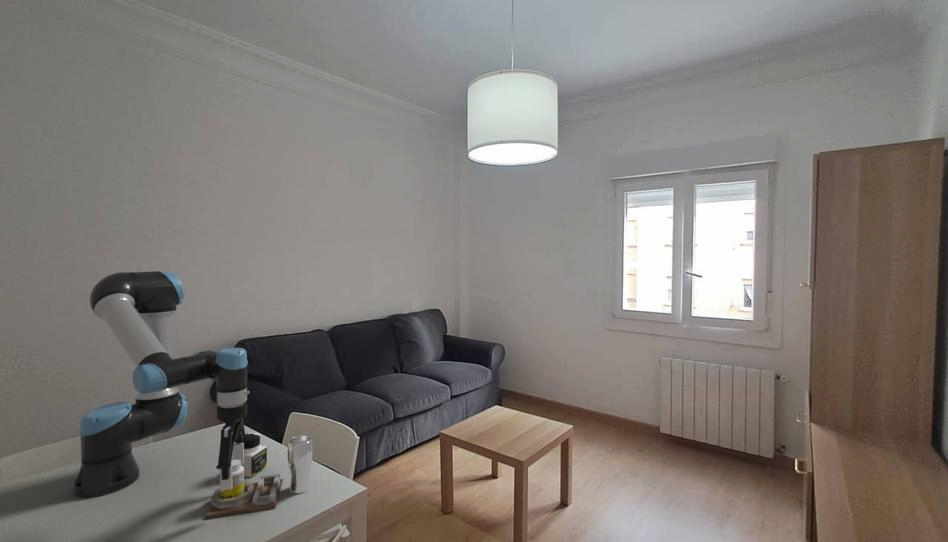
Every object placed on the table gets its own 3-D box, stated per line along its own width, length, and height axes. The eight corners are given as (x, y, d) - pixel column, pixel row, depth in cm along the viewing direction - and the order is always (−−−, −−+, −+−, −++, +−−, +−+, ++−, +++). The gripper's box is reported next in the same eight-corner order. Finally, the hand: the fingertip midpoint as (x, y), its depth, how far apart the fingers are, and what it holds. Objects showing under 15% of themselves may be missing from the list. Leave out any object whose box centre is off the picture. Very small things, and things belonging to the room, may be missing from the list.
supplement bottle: (218, 499, 119) (217, 463, 118) (237, 490, 123) (237, 456, 123) (228, 505, 116) (228, 469, 115) (248, 495, 120) (248, 461, 120)
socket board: (220, 490, 125) (220, 480, 125) (282, 481, 130) (282, 472, 130) (205, 518, 111) (205, 508, 111) (275, 508, 116) (275, 497, 116)
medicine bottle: (251, 478, 132) (251, 440, 131) (232, 475, 133) (231, 438, 133) (267, 467, 139) (267, 431, 138) (248, 464, 140) (248, 429, 140)
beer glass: (283, 488, 126) (283, 439, 126) (306, 479, 131) (306, 432, 131) (293, 497, 121) (293, 447, 121) (316, 488, 127) (316, 439, 126)
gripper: (236, 419, 108) (236, 499, 109) (255, 388, 131) (256, 454, 132) (202, 422, 105) (203, 503, 106) (229, 390, 129) (229, 457, 130)
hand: (232, 476), depth 119 cm, fingers open, 13 cm apart
